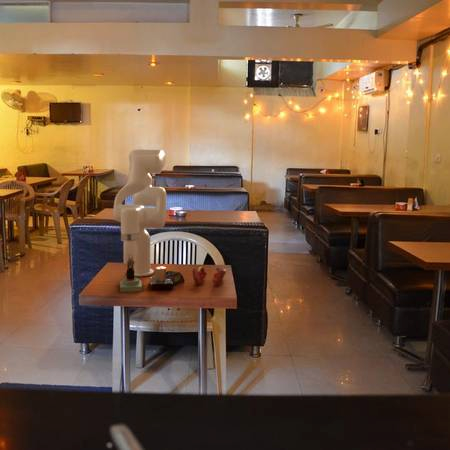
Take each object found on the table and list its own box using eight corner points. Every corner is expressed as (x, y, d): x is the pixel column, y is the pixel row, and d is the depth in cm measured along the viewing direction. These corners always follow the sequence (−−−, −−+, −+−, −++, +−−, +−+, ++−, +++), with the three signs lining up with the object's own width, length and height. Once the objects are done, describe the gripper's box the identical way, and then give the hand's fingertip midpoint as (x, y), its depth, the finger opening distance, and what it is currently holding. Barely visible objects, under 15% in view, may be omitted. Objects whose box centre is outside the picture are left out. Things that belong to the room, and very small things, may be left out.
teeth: (195, 262, 237) (227, 264, 235) (195, 278, 239) (227, 281, 236) (190, 268, 227) (223, 271, 224) (190, 285, 228) (223, 288, 226)
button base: (120, 285, 226) (120, 276, 225) (140, 284, 227) (140, 276, 227) (120, 292, 216) (119, 283, 215) (141, 291, 218) (141, 282, 217)
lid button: (125, 281, 223) (125, 277, 222) (135, 281, 223) (135, 277, 223) (126, 284, 219) (125, 280, 218) (135, 283, 220) (135, 279, 219)
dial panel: (149, 283, 230) (149, 276, 229) (170, 282, 231) (170, 275, 231) (151, 290, 219) (151, 283, 218) (172, 289, 221) (172, 282, 220)
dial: (155, 278, 226) (155, 265, 225) (165, 278, 227) (165, 265, 226) (156, 281, 222) (156, 268, 221) (166, 281, 223) (166, 268, 222)
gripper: (121, 233, 224) (121, 274, 227) (121, 240, 210) (121, 283, 213) (138, 233, 225) (138, 273, 229) (139, 240, 211) (140, 283, 214)
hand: (130, 278), depth 221 cm, fingers closed
